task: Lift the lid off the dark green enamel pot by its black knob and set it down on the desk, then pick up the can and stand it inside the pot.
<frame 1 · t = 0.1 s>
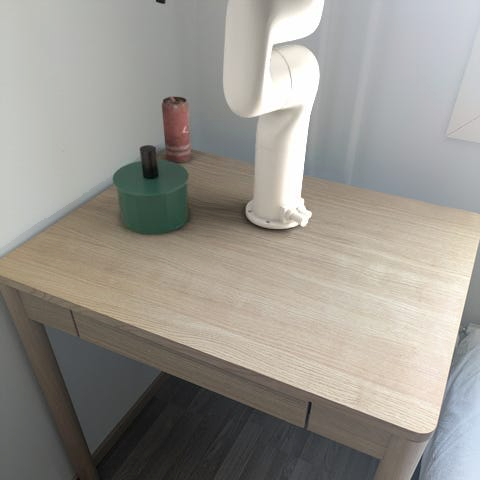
hand: (141, 5, 107), 31 cm above the table, tool pointing down, fingers open, 9 cm apart
pot: (155, 216, 102), on the table
can: (178, 159, 123), on the table
lid: (151, 178, 96), point 8 cm above the table, touching pot
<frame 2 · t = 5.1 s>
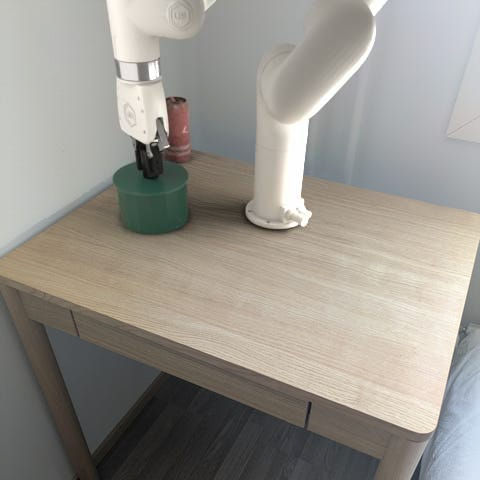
hand: (150, 170, 95), 10 cm above the table, tool pointing down, fingers closed on lid, 3 cm apart
lid: (151, 178, 96), point 9 cm above the table, touching gripper, pot
everything else where it was.
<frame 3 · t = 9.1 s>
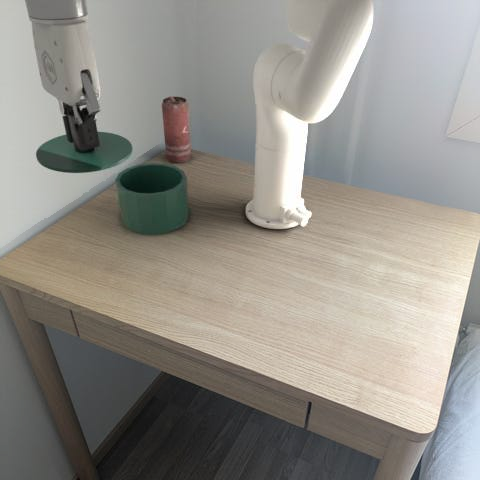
hand: (83, 143, 76), 21 cm above the table, tool pointing down, fingers closed on lid, 3 cm apart
lid: (85, 152, 77), point 20 cm above the table, touching gripper
everything else where it was.
when the fingers open (2 cm above the table, at t = 13.5 s): lid stays where it is, point 1 cm above the table.
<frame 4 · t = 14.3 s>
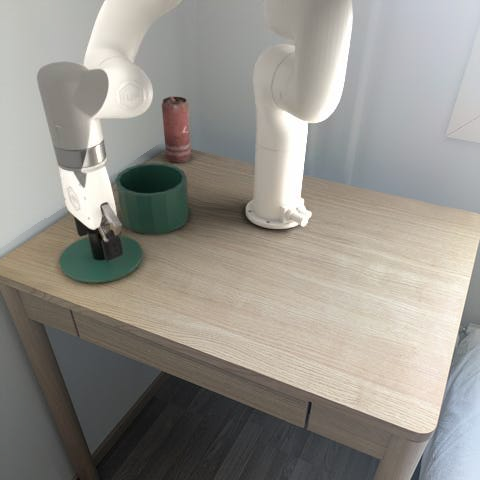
hand: (100, 245, 88), 3 cm above the table, tool pointing down, fingers open, 9 cm apart
lid: (101, 258, 89), point 1 cm above the table
everything else where it was.
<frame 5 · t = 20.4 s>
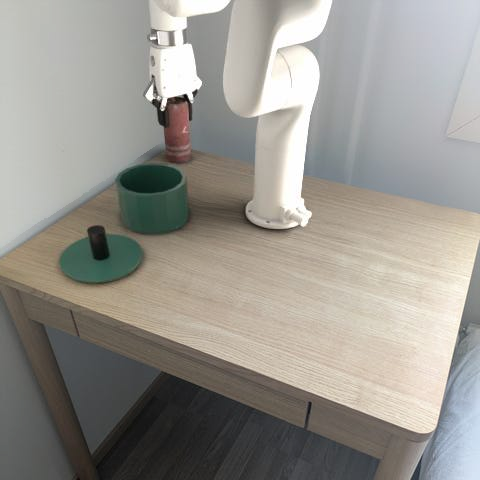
hand: (175, 121, 117), 9 cm above the table, tool pointing down, fingers closed on can, 6 cm apart
can: (178, 159, 123), on the table, touching gripper
everything else where it was.
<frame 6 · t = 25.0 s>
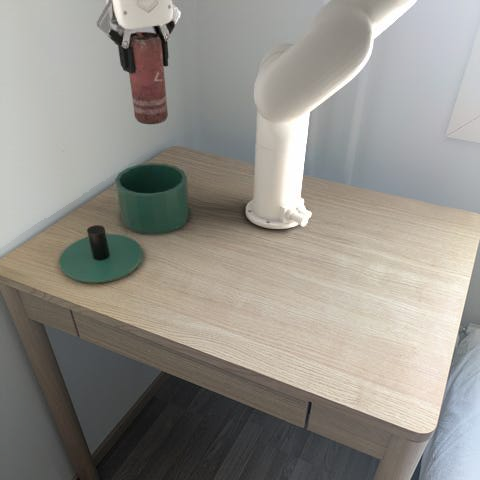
hand: (145, 67, 87), 27 cm above the table, tool pointing down, fingers closed on can, 6 cm apart
can: (151, 119, 93), point 18 cm above the table, touching gripper
everything else where it was.
when the fingers open (10 cm above the table, at t = 29.8 s): can stays where it is, resting on pot.
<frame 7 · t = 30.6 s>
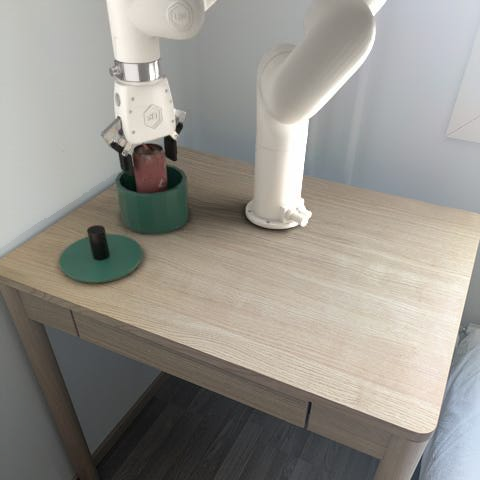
hand: (150, 166, 94), 11 cm above the table, tool pointing down, fingers open, 9 cm apart
can: (155, 215, 101), resting on pot
everything else where it was.
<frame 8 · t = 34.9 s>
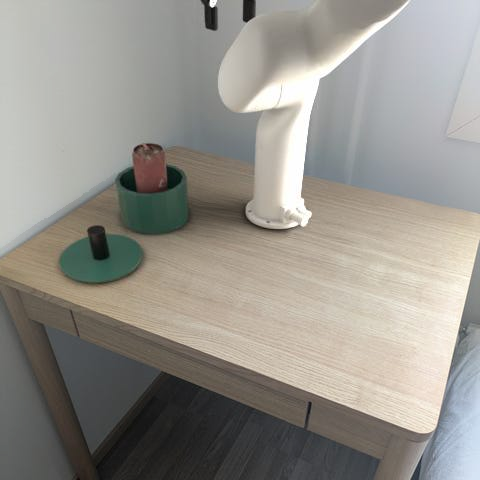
hand: (230, 26, 98), 30 cm above the table, tool pointing down, fingers open, 9 cm apart
nothing on the table moved.
at the end: lid inside the target area (0.1 cm from its centre), point 0.6 cm above the table; can 0.0 cm off-centre in the pot, point 0.3 cm above the pot's base; can tilted 0° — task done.
